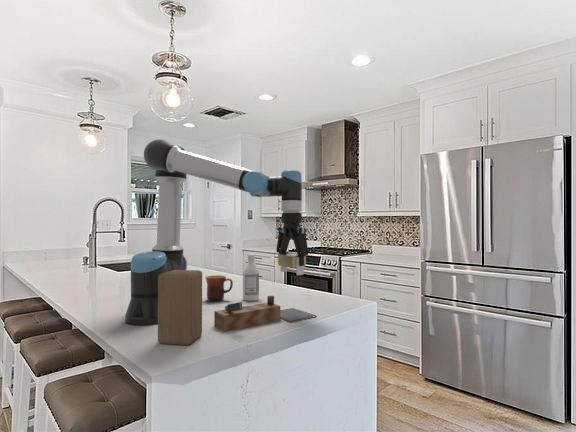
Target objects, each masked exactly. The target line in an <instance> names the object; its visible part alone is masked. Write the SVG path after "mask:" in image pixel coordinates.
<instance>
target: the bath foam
mask: <svg viewBox="0 0 576 432" xmlns="http://www.w3.org/2000/svg"><path fill="white" fill-rule="evenodd" d="M242 274H243V277H242V292H243V293H242V299H243V301H246V302H255V301H256V302H257V301H258V300H260V272H259V268H258V266H257V264H256V262H255V253H249V254H247V263H246V264H245V267H244V268H243V271H242Z"/></svg>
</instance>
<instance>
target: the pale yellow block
mask: <svg viewBox="0 0 576 432" xmlns="http://www.w3.org/2000/svg"><path fill="white" fill-rule="evenodd" d="M297 255H298V254H297V253H287V254H279V253H278V254H277V265H278V266H280V267H281V266H286V267H287V268H293V269H294V268H295V269H296V257H297ZM306 258H307V255H306V256H304V268H305V267H306V265H307V261H306V260H307V259H306Z"/></svg>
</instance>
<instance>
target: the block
mask: <svg viewBox="0 0 576 432" xmlns="http://www.w3.org/2000/svg"><path fill="white" fill-rule="evenodd" d="M202 334H203V271H201V270H198V269H197V270H196V269H195V270H194V269H187V270H172V271H169V272H165V273H162V274H159V276H158V323H157V343H159V344H164V345H165V344H167V345H178V346H179V345H180V346H181V345H182V346H189V345H191V344H192V343H193V342H195V341H196V340H197V339H198V338H200V337H201V336H202Z"/></svg>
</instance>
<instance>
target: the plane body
mask: <svg viewBox="0 0 576 432" xmlns="http://www.w3.org/2000/svg"><path fill="white" fill-rule="evenodd" d="M266 301H267V302H263V303H257V304H252V305H242V308H243V310H239V311H232V312H228V311H226V310H225V309H219V310H214V313H213V314H214V318H213V319H214V321H213V323H214V324H213V325H214V326H213V327H215V328H217V329H219V330H221V331H222V332H229V331H232V330H237V329H238V330H239V329H242V328H243V329H244V328H247V327H252V326H258V325H263V324H267V323H268V324H269V323H273V322H278V321H281V319H280V310H281V305H279V304H275V296H274V295H267V300H266Z"/></svg>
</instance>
